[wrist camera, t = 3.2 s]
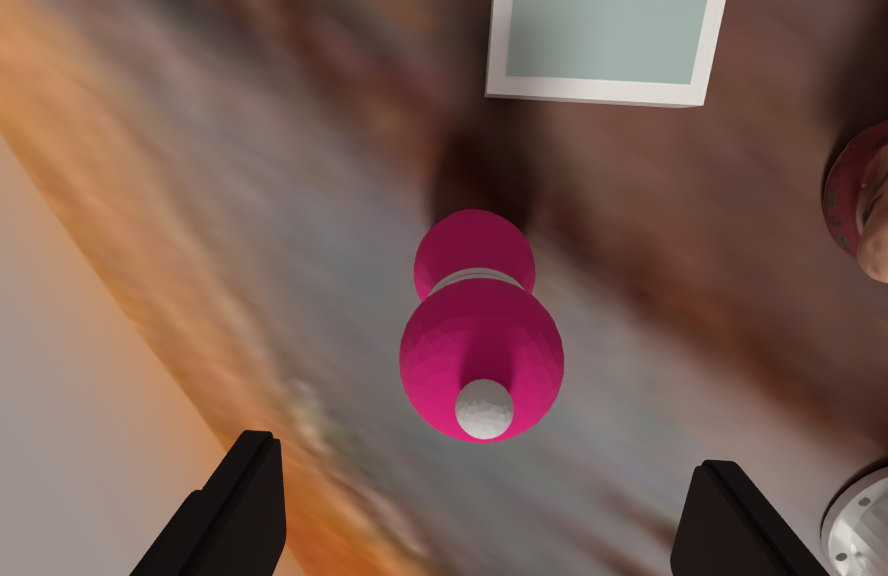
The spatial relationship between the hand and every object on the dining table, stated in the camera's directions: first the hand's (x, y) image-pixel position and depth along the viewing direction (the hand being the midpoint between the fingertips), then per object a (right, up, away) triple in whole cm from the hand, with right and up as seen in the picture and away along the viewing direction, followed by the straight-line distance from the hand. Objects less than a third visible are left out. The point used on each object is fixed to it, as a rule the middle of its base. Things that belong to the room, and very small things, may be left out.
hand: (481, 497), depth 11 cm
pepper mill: (+1, +7, +22) cm, 23 cm away
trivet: (+8, +22, +17) cm, 29 cm away
